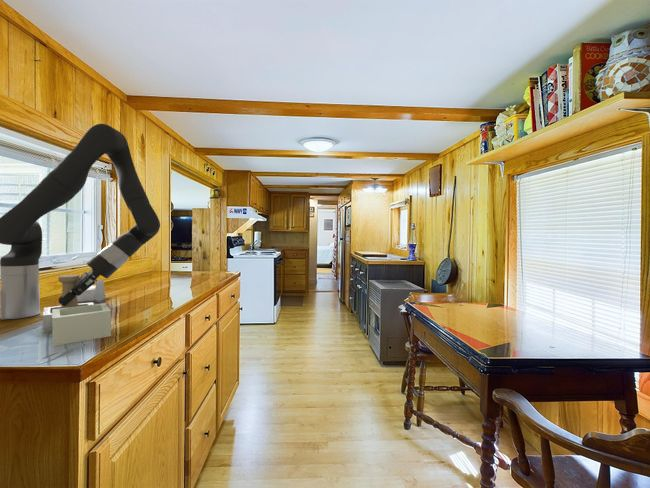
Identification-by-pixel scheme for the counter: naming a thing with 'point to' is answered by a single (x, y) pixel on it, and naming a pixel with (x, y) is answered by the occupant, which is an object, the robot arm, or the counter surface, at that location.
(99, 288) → the tapered grey rod
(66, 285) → the handle
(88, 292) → the ramekin
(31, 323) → the counter surface
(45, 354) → the counter surface
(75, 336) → the cradle block
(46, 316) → the bore block
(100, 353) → the counter surface
